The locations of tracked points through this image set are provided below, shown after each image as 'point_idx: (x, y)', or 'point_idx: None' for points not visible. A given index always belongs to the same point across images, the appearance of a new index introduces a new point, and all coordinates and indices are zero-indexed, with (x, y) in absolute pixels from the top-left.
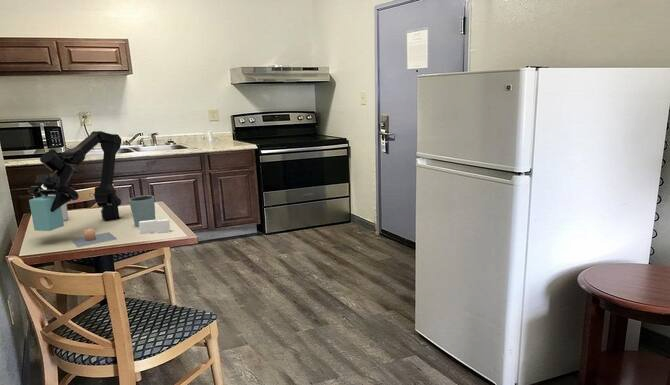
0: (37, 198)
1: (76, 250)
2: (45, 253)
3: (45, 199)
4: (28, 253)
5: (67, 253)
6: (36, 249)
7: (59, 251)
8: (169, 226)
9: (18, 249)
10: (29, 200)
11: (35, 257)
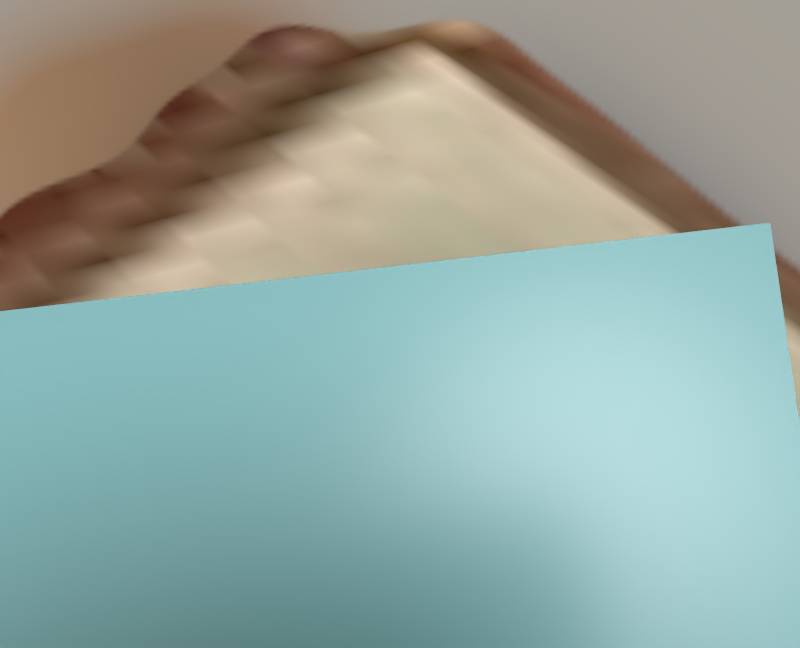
0: (646, 640)
1: (24, 303)
2: (235, 167)
3: (5, 464)
4: (402, 120)
5: (43, 220)
6: (434, 232)
7: (152, 244)
8: None
9: (647, 180)
10: (728, 231)
11: (234, 64)
